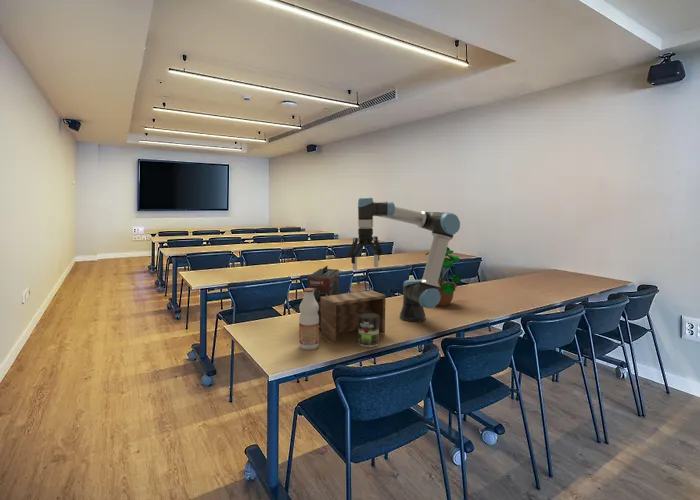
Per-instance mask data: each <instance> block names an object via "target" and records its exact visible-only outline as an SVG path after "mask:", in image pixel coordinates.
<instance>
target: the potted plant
mask: <svg viewBox="0 0 700 500" xmlns="http://www.w3.org/2000/svg"><path fill="white" fill-rule="evenodd" d="M429 253H430V251H429V252H427V253H425V256H427V255H429ZM453 253H454V250H451V249H450V248H449V246H447V250H446V253H445V257H444V261H443V264H442V268H441V272H440V276H439V280H438V284H439V290H438V291H439V292H440V295H441V298H440V301H439V303H438V304H437V305H436V306H437V307H447V306H448V305H450V304H451V303H452V301H453V298H454V292H455V291H456V288H457V287H458V285H457V284H459V283H461V282H462V277H461V275H459V274H456V273H453V274H450V275H449V274H448V275H447V276H445V275H446V273H447V272H448V271H449V269H450V268H452V267H454V268H455V267H456V265H455V264H454V263H459V262H460V261H461V258H460V257H459V255H453ZM444 277H445V278H444ZM447 277H449V278H450V279H451V280H452V281H453V282H452V281H446V280H445V279H447ZM436 306H435V307H436Z"/></svg>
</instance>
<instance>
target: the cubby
mask: <svg viewBox="0 0 700 500" xmlns="http://www.w3.org/2000/svg"><path fill="white" fill-rule="evenodd" d="M361 313H376V314H378V315H379V334H382V335H383V334H385V333H386V294H384V293H380V292H377V291H374V290H372V289H370V290H362V291H354V292H347V293H339V294H338V295H331V296H323V297H321V331H320V336H321V337H322V338H323V339H325V340H327V341H328V342H330V343H331V344H333V345H334V344H337V333H338V334H342V333H347V332H352V331H358V320H359V317H358V315H359V314H361Z"/></svg>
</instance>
